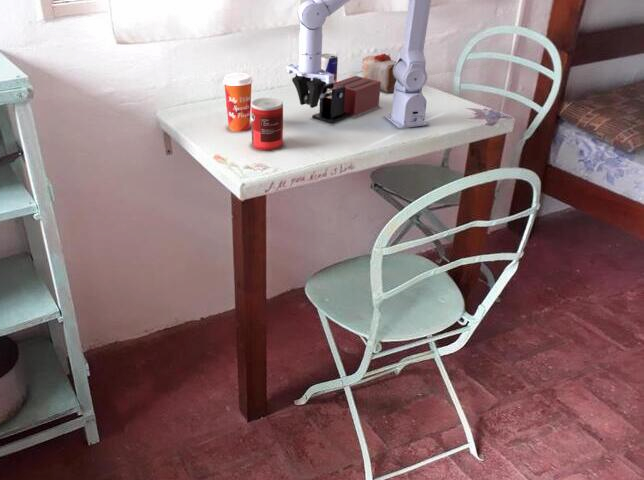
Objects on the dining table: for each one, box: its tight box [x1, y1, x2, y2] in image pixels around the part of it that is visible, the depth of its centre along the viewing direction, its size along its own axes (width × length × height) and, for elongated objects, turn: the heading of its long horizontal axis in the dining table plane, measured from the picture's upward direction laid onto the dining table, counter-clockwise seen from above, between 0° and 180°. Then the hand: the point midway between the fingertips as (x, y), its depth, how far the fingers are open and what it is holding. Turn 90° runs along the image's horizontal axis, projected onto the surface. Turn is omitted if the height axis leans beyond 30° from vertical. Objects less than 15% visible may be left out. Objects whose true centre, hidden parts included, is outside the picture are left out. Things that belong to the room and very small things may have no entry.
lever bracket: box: [311, 83, 352, 125], centre depth 180 cm, size 8×7×9 cm
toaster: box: [334, 75, 381, 118], centre depth 186 cm, size 11×9×8 cm
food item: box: [361, 53, 397, 94], centre depth 202 cm, size 14×8×10 cm, turn 29°
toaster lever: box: [303, 87, 335, 106], centre depth 176 cm, size 12×3×3 cm, turn 133°
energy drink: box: [321, 53, 339, 84], centre depth 195 cm, size 5×5×12 cm
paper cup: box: [222, 72, 254, 132], centre depth 175 cm, size 8×8×14 cm
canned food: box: [250, 97, 284, 152], centre depth 165 cm, size 8×8×11 cm
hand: (308, 105), depth 174 cm, fingers closed on toaster lever, 3 cm apart
